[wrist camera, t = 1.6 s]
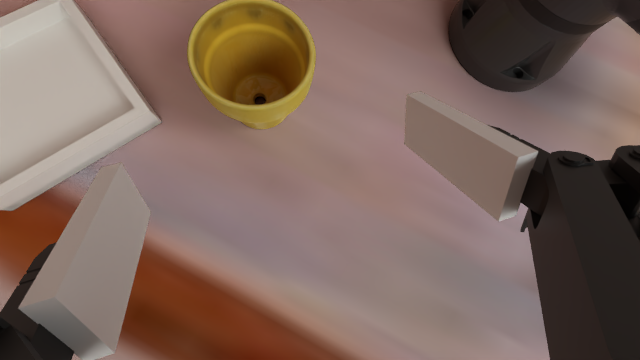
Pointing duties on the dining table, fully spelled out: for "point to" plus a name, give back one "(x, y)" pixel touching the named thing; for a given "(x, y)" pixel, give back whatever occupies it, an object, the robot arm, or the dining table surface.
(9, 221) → the dining table surface
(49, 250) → the robot arm
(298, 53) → the plant pot
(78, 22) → the white tray
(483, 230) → the dining table surface
